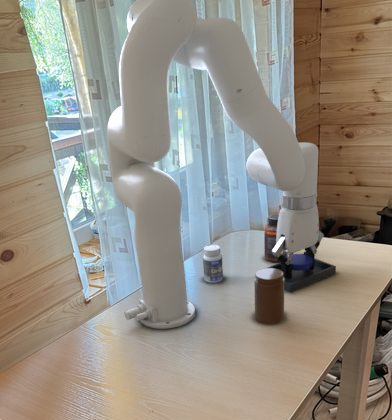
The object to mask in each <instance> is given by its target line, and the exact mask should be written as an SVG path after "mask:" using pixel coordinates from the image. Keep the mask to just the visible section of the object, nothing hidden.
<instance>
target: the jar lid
mask: <svg viewBox="0 0 392 420" xmlns="http://www.w3.org/2000/svg"><path fill="white" fill-rule="evenodd" d="M303 254H304V253H293V256H292V259H291V262H290V264H292V270H297V271H301V270H307V269H310V268H311V267H312V265H313V259H312V258H311V257H310V256H307V255H303ZM286 258H287V256H286Z"/></svg>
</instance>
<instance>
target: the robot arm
mask: <svg viewBox="0 0 392 420" xmlns="http://www.w3.org/2000/svg"><path fill="white" fill-rule="evenodd" d="M126 27H127V31H128V33H127V35H126V37H125V40H124V43H123V45H122V48H121V51H120V56H119V65H118V77H119V78H118V81H119V96H120V97H119V99H120V106H118V107H116V109H114V110H113V112H112V113H111V114H110V117H109V118H108V122H107V127H106V141H107V150H108V159H109V166H110V174H111V179H112V180H111V181H112V185H113V189H114V193H115V195H116V198H117V199H118V200H119V202H120V203H121V204H122V205H124V207H126V208H127V209H129V210H131V211H132V212H133V215H134V230H133V231H134V232H133V233H134V244H135V252H136V257H137V264H138V271H139V278H140V279H139V280H140V285H141V290H142V291H141V292H142V298H141V299H139V304H138V305H136V307H135V308H131V309H127V310H125V311H124V317H125V319H126V320H127V321H129V320H132V319H134V318H135V320H136V321H137V322H140V323H141V324H142V325H144V326H146V327H149V328H151V329H157V330H158V329H161V330H163V329H174V328H178V327H180V326H184V325H185V324H187V323H189V322H190V321H192V320H193V318H194V317H195V316H196V308H195V305H194V304H193V303H192V302H190V300H189V301H188V296H187V295H188V294H187V285H186V274H185V273H186V272H185V265H184V264H185V263H184V253H183V252H184V251H183V242H182V231H181V226H182V225H181V219H182V218H181V217H182V203H183V202H182V200H183V199H182V192H181V190H180V187H179V185H178V183H177V182H176V180H175V179H174V178H173V177H172V176H171V175H170V174H169V173H167V172H165V171H163V170H161V169H159V168H157V167H155V165H156V164H155V163H158V162H160V161H162V160H163V159H164V158H165V157H166V156H167V155H168V153H169V152H170V149H171V144H172V129H171V128H172V127H171V118H170V104H169V74H170V68H171V65H172V62H174V63H176V64H179V65H182V66H185V67H189V68H191V69H195V70H201V71H207V74H208V76H209V78H210V80H211V82H212V85H213V87H214V90H215V92H216V94H217V96H218V99H219V101H220V103H221V105H222V108H223V110H224V113H225V115H226V116H227V118H228V119H229V120H230V121H231V122H232V123H233V125H235V126H236V127H237V128H239V129H240V130H241V131H242V132H244V133H245V134H246V135H247V136H249V137H250V138H251V139H252V140H253V141H254V142H255V143H256V144H257V145H258V147H259V148H257V149H255V150H254V151H252V152H251V154H250V155H249V156H248V157H247V160H246V163H245V167H246V168H245V169H246V173H247V174H248V176H249V178H250V179H252V180H253V181H254V182H256V183H258V184H261V185H264V186H267V187H270V188H273V189H276V190H279V191H280V192H281V191H282V208H280V210H279V213H278V215H279V217H278V224H277V235H276V246H275V247H274V249H273V250H272V254H273V255H274V256H275V257H276V258H277V259H278V260H279V261H278V263H281V271H282V272H283V273H284V278H286V279H289V280H290V279H292V264H290V262H291V259H292V256H293V254H296V253H297V252H300V251H303V250H304V251H303V253H302V254H303V255H307V256H310V257H311V258H312V259H313V265H312V267H311V268H310V269H309V270H314V260H315V259H316V257H315V256H316V254H317V253H318V248H319V246H320V245H321V242H322V240H323V238H324V236H325V235H324V233H323V232H322V231H321V230H320V220H319V219H320V218H319V210H318V209H319V208H318V204H317V197H318V195H319V193H318V192H317V191H318V175H319V174H318V171H319V148H318V146H317V145H316V144H315V143H312V142H305V141H304V142H303V141H302V142H299V141H298V138H297V136H296V134H295V131H294V130H293V128H292V127H291V125H290V123H289V122H288V121H287V119H286V118H285V117H284V116H283V114H282V113H281V111H280V110H279V109H278V107H277V106H276V105H275V104H274V102H273V101H272V100H271V99H270V98H269V96H268V94H267V92H266V90H265V88H264V85H263V82H262V78H261V76H260V74H259V71H258V69H257V66H256V63H255V60H254V57H253V55H252V52H251V50H250V47H249V44H248V42H247V38H246V36H245V34H244V32H243V29H242V28H241V26H240V25H239V23H237V21H235V20H233V19H232V18H227V17H213V18H201V17H198V16H197V11H196V8H195V4H194V2H193V0H135V1H134V2H133V3H132V4H131V5H130V7H129V9H128V12H127V16H126ZM281 250H282V251H281ZM286 253H287V258H286V257H285V255H286Z"/></svg>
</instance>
